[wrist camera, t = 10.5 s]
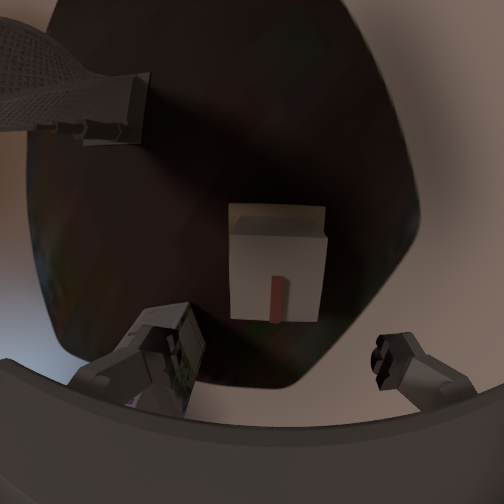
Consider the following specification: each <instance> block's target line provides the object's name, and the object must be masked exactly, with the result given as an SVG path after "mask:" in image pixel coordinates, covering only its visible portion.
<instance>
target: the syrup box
mask: <svg viewBox="0 0 504 504" xmlns="http://www.w3.org/2000/svg"><path fill="white" fill-rule="evenodd" d="M141 325H150V326H158V327H164V328H171V329H176V330H178V333H179V339H178V341H177V342H178V343H179V344H180V345H181V350H182V357H181V363H180V366H179V367H178V368H177V369H175V373H176V376H175V378H174V381H173V383H172V386H167V385H161V384H155V383H152V384H151V385H150V386H149V387H148V388H146V389H145V390H144V391H142V392H141V393H140V394H138V395H137V396H136V397H134V398H133V399H132V400H130V401H129V402H128V403H126V404H125V405H126V406H129V407H133V408H137V409H141V410H145V411H149V412H154V413H158V414H163V415H168V416H173V417H179V418H184V415H185V412H186V408H187V405H188V402H189V399H190V395H191V392H192V389H193V386H194V383H195V380H196V377H197V374H198V370H199V367H200V364H201V361H202V357H203V354H204V351H205V348H206V342H205V339H204V337H203V335H202V332H201V330H200V327H199V325H198V323H197V320H196V317H195V315H194V312H193V309H192V307H191V305H190V303H189V302H185V303H178V304H171V305H165V306H159V307H153V308H147V309H144V310H143V312H142V313H141V314H140V316H139V317H138V319H137V320H136V321H135V323H134V324H133V326H132V327H131V328H130V330H129V331H128V332H127V334H126V335H125V336H124V338H123V339H122V340H121V342H120V343H119V344H118V346H117V347H116V349H115V350H114V351H116V350H118V349H120V348H122V347H127V346H128V344H129V343H130V341H131V340H132V338H133V337H134V335H135V334H136V332H137V331H138V329H139V328H140V327H141ZM114 351H113V352H114Z"/></svg>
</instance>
